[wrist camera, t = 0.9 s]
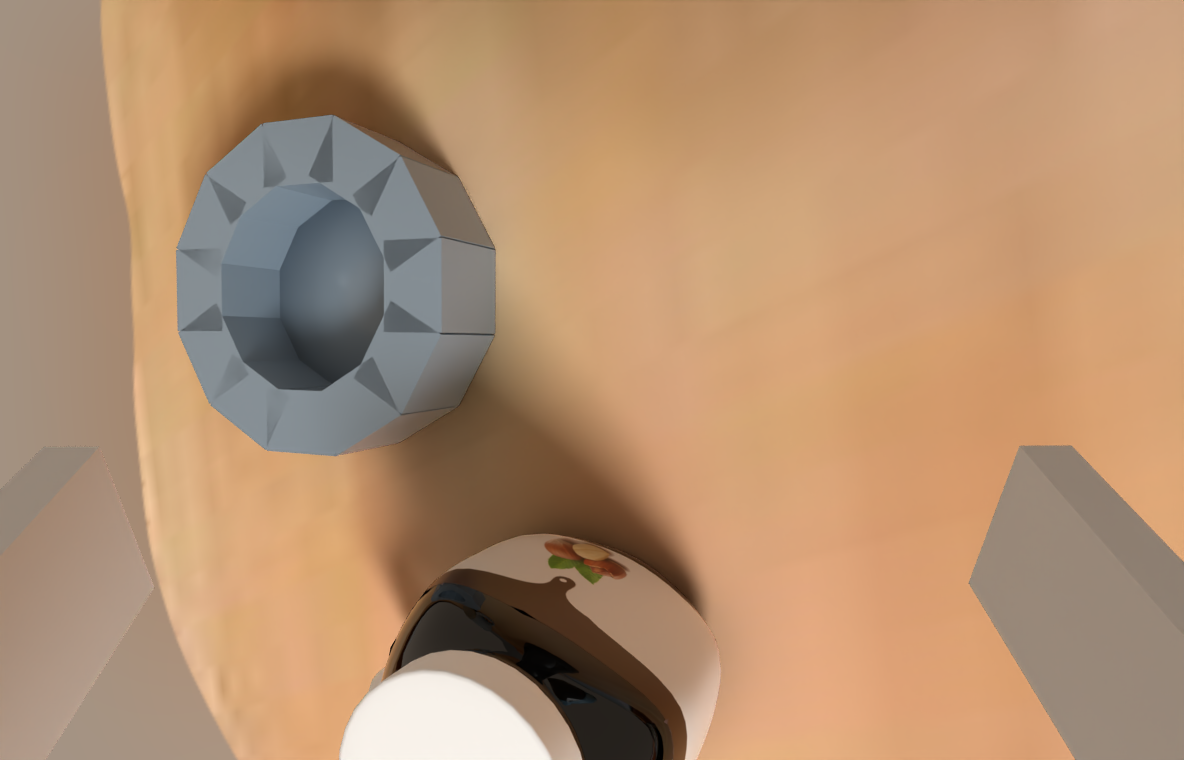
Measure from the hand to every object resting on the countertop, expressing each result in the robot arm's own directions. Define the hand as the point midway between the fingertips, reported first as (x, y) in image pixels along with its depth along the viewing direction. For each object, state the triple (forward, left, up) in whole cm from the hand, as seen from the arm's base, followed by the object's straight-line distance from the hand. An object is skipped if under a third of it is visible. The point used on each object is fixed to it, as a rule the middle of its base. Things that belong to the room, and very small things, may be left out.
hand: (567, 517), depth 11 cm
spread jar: (+13, -1, -18) cm, 22 cm away
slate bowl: (+5, -17, -17) cm, 25 cm away
